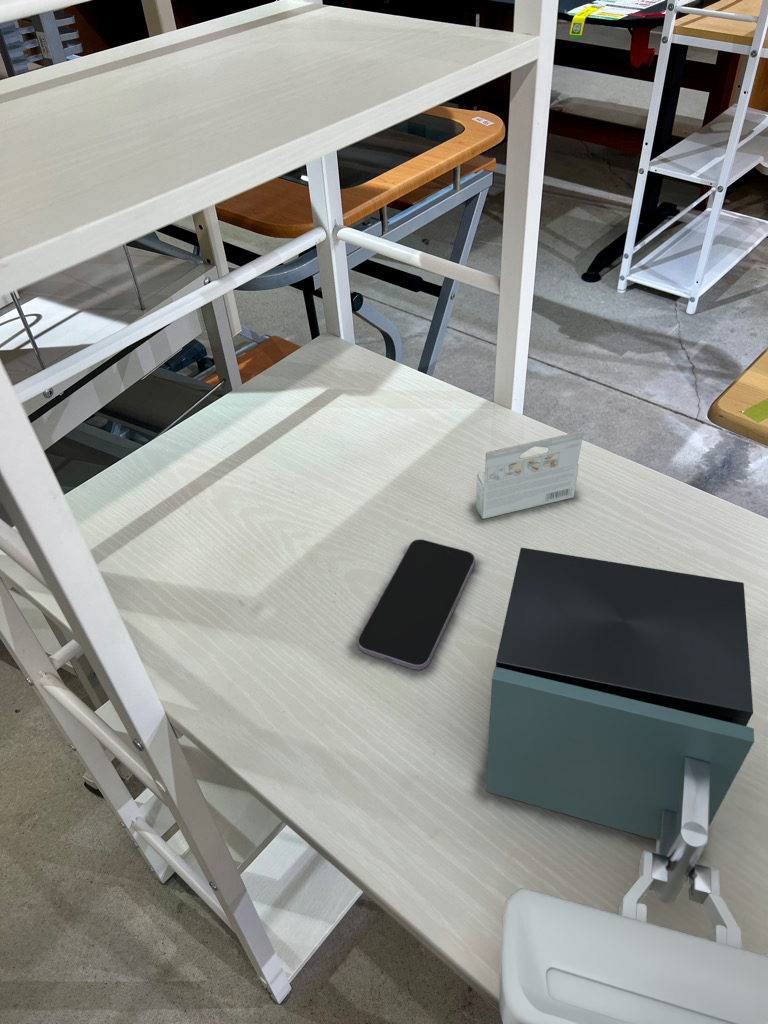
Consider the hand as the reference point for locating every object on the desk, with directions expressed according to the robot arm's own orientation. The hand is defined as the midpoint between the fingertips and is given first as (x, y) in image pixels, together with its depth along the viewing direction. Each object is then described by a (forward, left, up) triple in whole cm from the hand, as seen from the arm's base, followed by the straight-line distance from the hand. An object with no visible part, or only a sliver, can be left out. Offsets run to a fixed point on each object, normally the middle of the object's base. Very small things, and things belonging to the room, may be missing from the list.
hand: (678, 862), depth 47 cm
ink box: (+15, -40, -8) cm, 44 cm away
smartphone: (+23, -23, -8) cm, 34 cm away
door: (+5, -3, -8) cm, 10 cm away
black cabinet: (+5, -12, -8) cm, 16 cm away
